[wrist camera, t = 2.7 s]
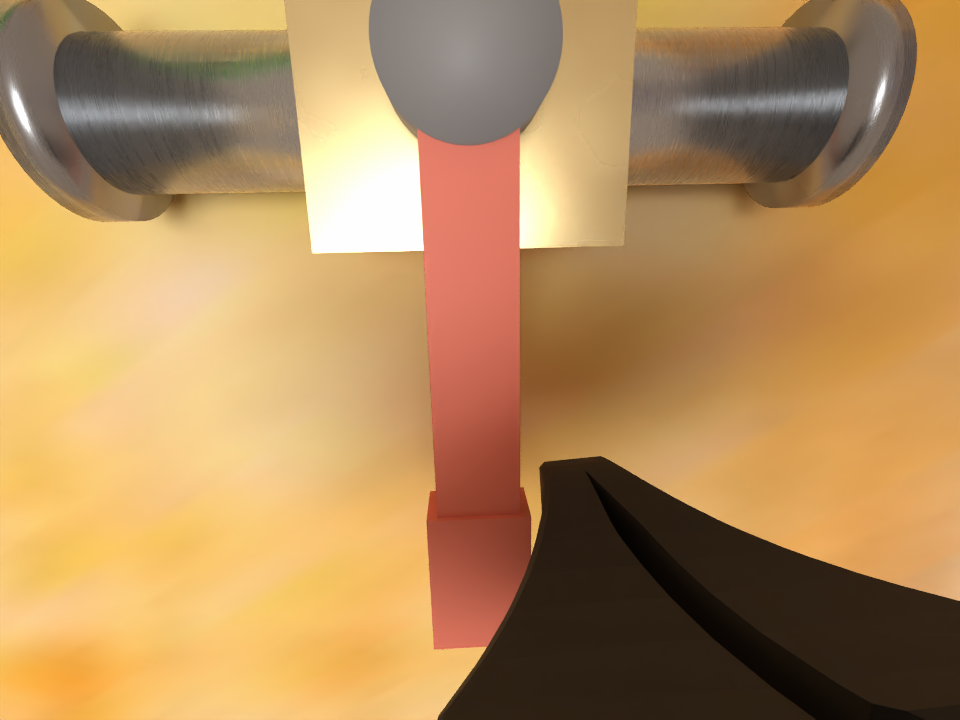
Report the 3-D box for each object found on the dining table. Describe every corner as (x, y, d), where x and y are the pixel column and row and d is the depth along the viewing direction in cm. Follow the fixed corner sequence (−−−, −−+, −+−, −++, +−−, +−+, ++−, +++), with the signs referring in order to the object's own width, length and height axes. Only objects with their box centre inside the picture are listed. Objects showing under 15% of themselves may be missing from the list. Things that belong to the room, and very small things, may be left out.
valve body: (779, 9, 12) (976, -134, 8) (751, 240, 14) (901, 239, 9) (121, 12, 12) (-104, -142, 7) (167, 254, 13) (6, 260, 8)
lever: (376, -29, 7) (360, -82, 6) (548, -28, 7) (565, -82, 6) (419, 608, 10) (414, 656, 9) (540, 602, 11) (551, 649, 9)
